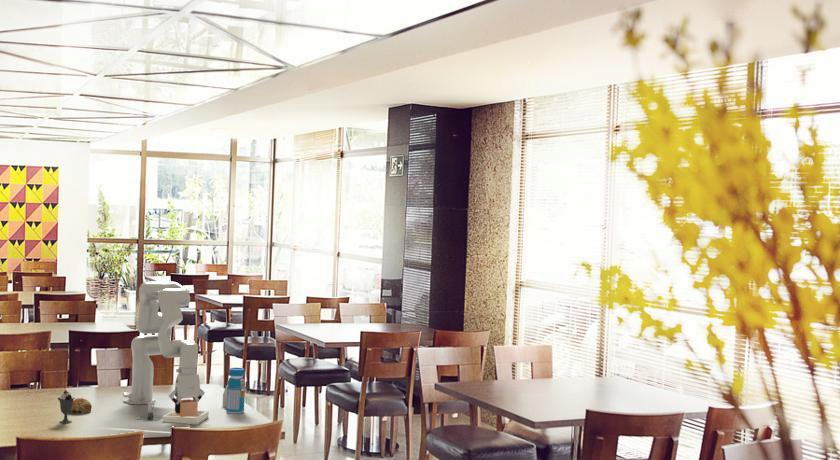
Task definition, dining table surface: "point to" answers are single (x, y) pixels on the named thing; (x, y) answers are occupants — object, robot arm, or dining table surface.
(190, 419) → the tray
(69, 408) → the sundae
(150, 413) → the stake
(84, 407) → the bread roll
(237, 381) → the beverage bottle
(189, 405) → the collar
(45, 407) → the dining table surface
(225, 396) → the grey faceted block
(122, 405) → the dining table surface
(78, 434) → the dining table surface
